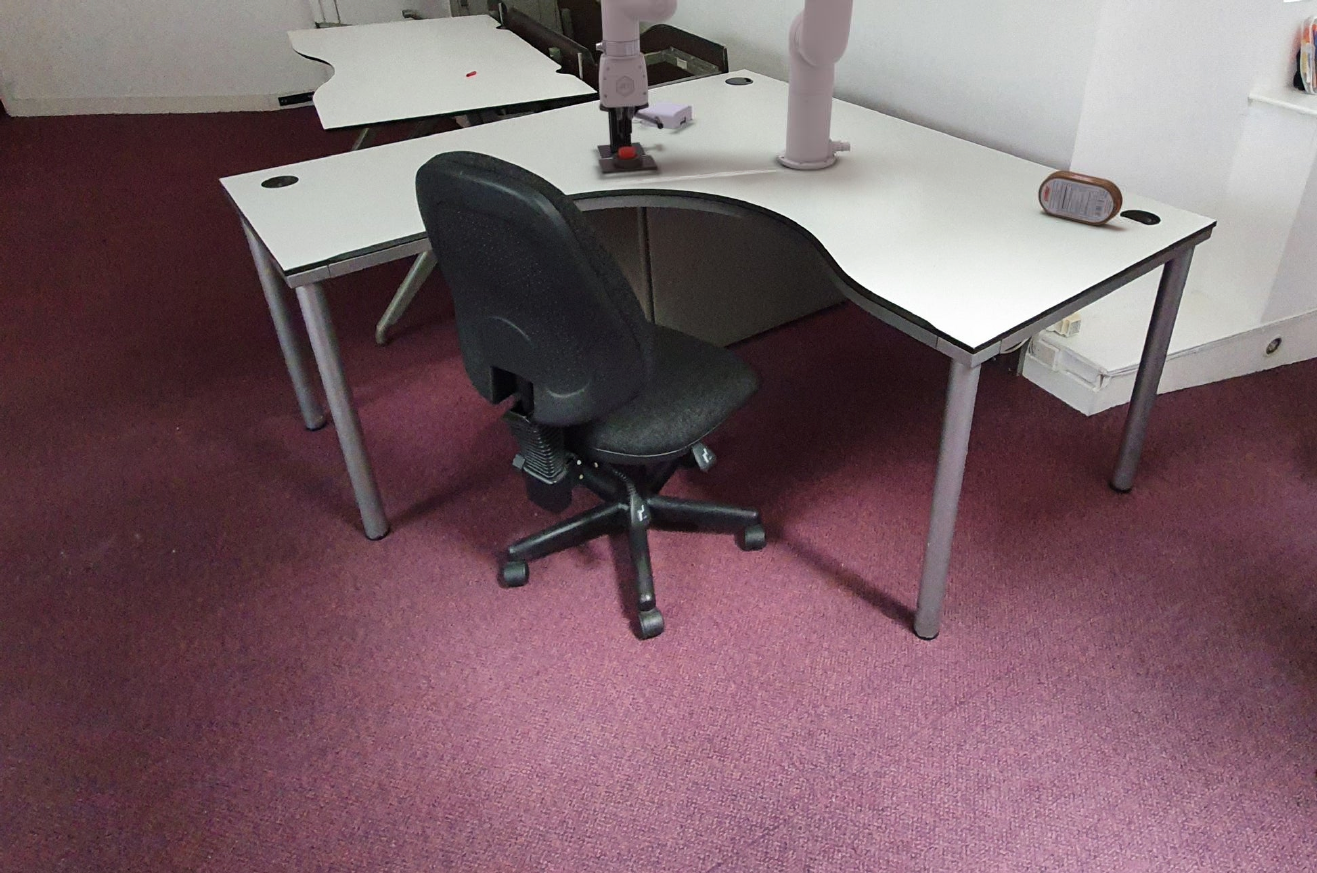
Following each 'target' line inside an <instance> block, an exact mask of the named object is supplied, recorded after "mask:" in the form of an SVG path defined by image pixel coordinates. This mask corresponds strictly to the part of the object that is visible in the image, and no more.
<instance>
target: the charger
mask: <svg viewBox="0 0 1317 873" xmlns="http://www.w3.org/2000/svg"><path fill="white" fill-rule="evenodd" d="M638 112H641V113H643V114H645V115H648V116H650V117H653V118H654V117H656V116H658V117H659V118H660V120H661V122H662V123H663V125H664V126H663V128H662V129H667V130H676V129H678V128H680V127H681V126H684V125H685V124H687V123H688V122H690V121H692V120H693V107H692V105H689V104H681V103H674V102H673V103H672V102H666V101H656V102H655V103H653V104H651V105H649V107H648V108H645V109H642V110H639V111H638ZM633 119H637V120H638V119H639V120H641V124H642V125H643V126H645V127H654V128H658V127H657V126H656V124H653V123H651V122H648V121H646V120H644V119H641V118H639V117H636V116H634V117H633Z"/></svg>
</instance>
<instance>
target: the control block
mask: <svg viewBox="0 0 1317 873" xmlns="http://www.w3.org/2000/svg"><path fill="white" fill-rule="evenodd" d="M598 165H599V167H600V170H601V173H602V175H610V174H620V173H621V174H622V173H632V172H633V173H634V172H643V171H656V170H658V166H657V164H656V162H655V159H654V157H653V155H652V154H645V155H642V154H641V153H640V152H637V151H635V157H634V158H628V159H624V158H619V152H617V153H615V154H613V155H612V158H600V159H598Z"/></svg>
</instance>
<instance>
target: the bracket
mask: <svg viewBox="0 0 1317 873" xmlns="http://www.w3.org/2000/svg"><path fill="white" fill-rule="evenodd" d="M626 110H627V106H625V107H621V112H622V115H623V117H625V114H626ZM607 116H608V133H609V134H608V135H609V144H601V145H600V144H598V145H597V149H598V152H599V155H600V157H601V158H600V159H609V158H612V155H613V154H615V153H617V152H619V149H620V148H623V147H633V148H635V151H637V152H640V153H641V154H642V156H645V155H646V153H645V151H644V149H643V147H642V145H641V143H640V141H637V142H632V133H630V138H628V139H627V138H625V139H622V137H621V134H618V126H617V118H616V117H615V116H614V115H613V114H611V113H610V112H607Z"/></svg>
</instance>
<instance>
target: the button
mask: <svg viewBox="0 0 1317 873" xmlns="http://www.w3.org/2000/svg"><path fill="white" fill-rule="evenodd" d="M634 157H635V148H633V147H623V148H620V149H619V158H624V159H628V158H634Z"/></svg>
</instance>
